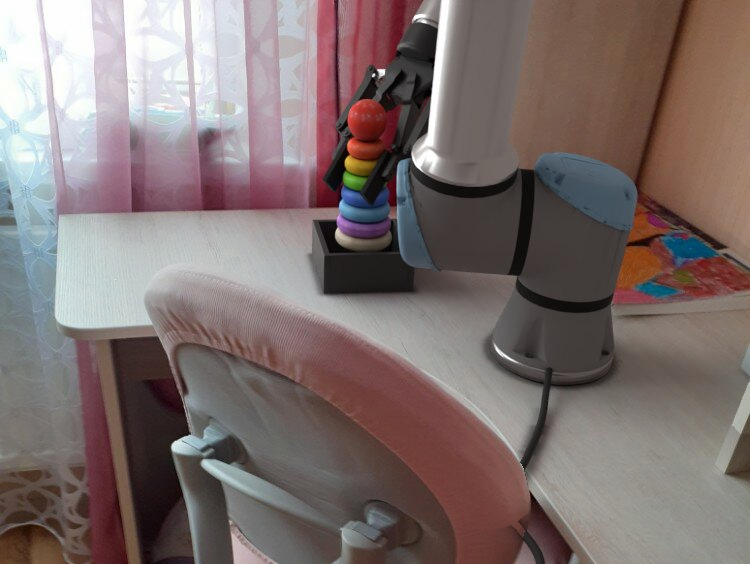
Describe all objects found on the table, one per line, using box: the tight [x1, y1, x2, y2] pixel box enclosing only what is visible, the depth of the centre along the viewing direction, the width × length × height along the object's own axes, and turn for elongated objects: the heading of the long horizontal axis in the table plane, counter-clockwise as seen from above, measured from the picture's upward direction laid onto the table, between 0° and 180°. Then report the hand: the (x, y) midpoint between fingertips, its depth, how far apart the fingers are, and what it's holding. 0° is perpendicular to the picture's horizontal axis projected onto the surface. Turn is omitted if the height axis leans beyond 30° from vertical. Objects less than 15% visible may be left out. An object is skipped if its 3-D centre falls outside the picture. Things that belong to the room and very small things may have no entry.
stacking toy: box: [335, 99, 392, 252], centre depth 113 cm, size 8×8×19 cm
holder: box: [311, 218, 416, 295], centre depth 120 cm, size 13×13×6 cm
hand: (347, 192), depth 112 cm, fingers closed on stacking toy, 6 cm apart
